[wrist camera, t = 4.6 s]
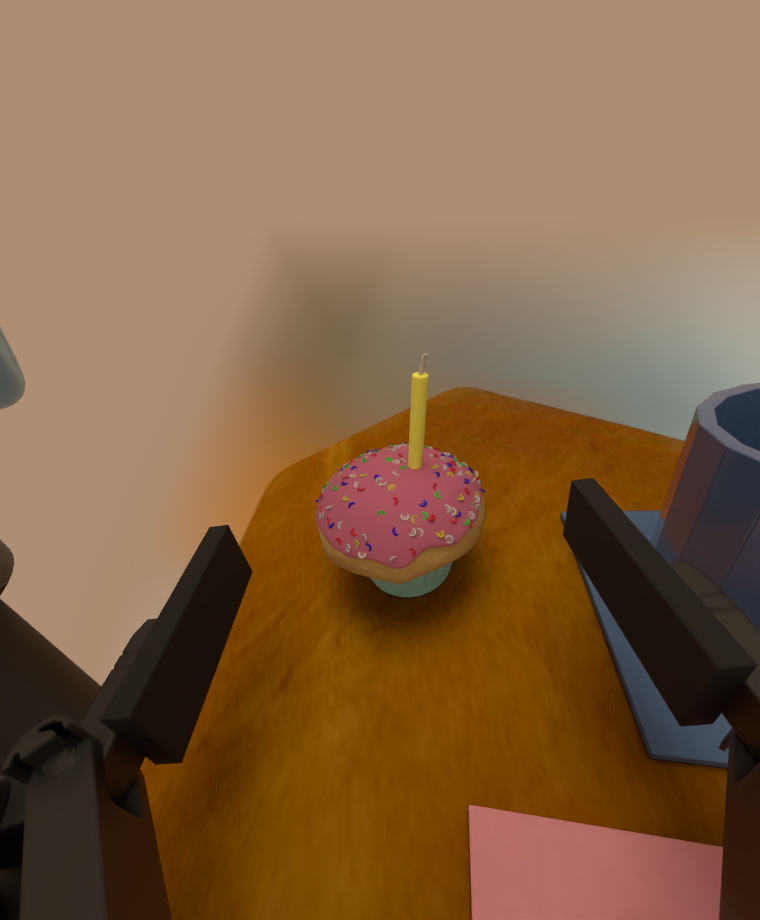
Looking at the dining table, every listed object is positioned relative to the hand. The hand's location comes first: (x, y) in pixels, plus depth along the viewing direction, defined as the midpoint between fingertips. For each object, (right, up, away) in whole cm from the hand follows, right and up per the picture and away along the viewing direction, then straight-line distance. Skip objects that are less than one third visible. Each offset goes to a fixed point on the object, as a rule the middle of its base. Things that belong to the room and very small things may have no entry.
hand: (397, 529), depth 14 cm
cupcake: (+1, -3, +7) cm, 8 cm away
